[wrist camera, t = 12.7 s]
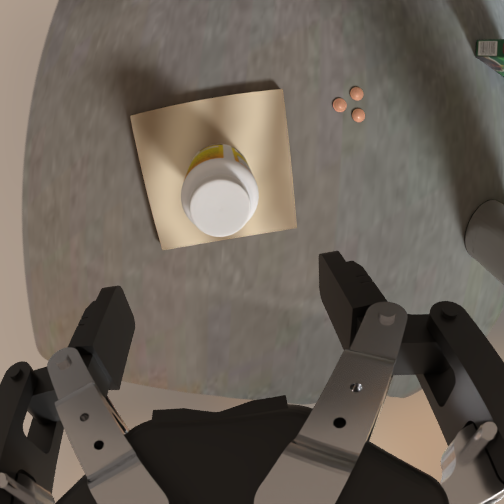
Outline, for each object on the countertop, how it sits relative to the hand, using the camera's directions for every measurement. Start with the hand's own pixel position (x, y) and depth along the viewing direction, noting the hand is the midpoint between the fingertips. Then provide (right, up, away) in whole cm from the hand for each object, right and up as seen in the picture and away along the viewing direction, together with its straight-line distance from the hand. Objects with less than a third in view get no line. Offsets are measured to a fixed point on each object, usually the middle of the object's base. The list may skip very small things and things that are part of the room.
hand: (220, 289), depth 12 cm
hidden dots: (+11, +16, +16) cm, 25 cm away
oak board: (-2, +9, +18) cm, 20 cm away
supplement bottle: (-2, +9, +17) cm, 19 cm away
